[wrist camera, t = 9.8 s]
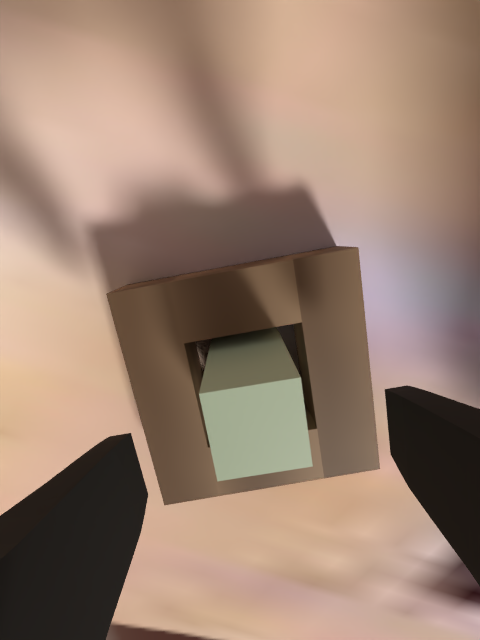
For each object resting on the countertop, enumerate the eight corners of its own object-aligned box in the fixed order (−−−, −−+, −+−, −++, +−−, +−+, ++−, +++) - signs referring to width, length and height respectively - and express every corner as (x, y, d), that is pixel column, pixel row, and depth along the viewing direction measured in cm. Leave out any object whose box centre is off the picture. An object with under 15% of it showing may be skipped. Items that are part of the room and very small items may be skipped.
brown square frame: (337, 246, 14) (357, 247, 12) (358, 434, 16) (379, 469, 14) (127, 284, 14) (106, 294, 12) (174, 466, 17) (164, 505, 14)
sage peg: (275, 323, 15) (300, 377, 9) (283, 381, 16) (312, 466, 10) (212, 334, 15) (199, 393, 9) (223, 391, 16) (217, 481, 10)
